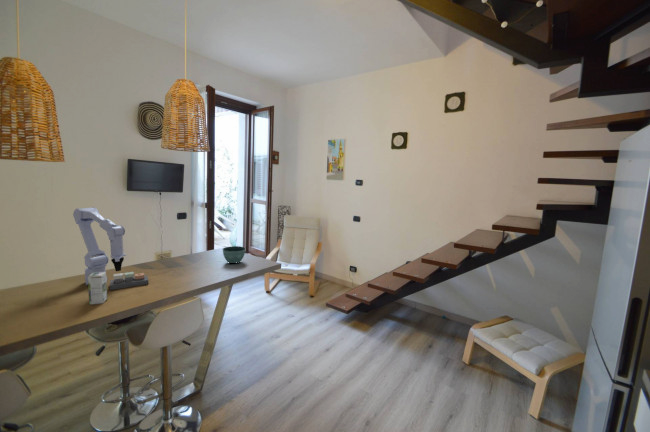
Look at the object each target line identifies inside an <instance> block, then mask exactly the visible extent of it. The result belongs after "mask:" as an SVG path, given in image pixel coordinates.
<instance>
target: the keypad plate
mask: <svg viewBox="0 0 650 432" xmlns="http://www.w3.org/2000/svg"><path fill="white" fill-rule="evenodd" d="M144 285H145V286H146V285H149V277H148V275H147V274H144V279H142V280H136V279H135V276H134V277H133V281H128V282H126V278H125V277H123V282H122V283H115V280H114V279H111V280H109V290H110V291H115V290H120V289H126V288H131V287H137V286H138V287H139V286H144Z"/></svg>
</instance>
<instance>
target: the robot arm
mask: <svg viewBox="0 0 650 432" xmlns="http://www.w3.org/2000/svg"><path fill="white" fill-rule="evenodd" d="M72 217H73V219H74V221H75V224H76V225H78V228H79V231H80V233H81V236H82V239H83V242H84V244H85V246H86V247H85V248H86V249H87V250H86V251H87V253H86V254H85V255H84V257H83V259H84V265H85V266H86V267H87V268H84V281H85V286H88V276H89V275H91V274H92V273H95V272H106V273H107V271H106V266H107V264H108V263H109V262H112V264H113V266H114V269H115V272H120V271H121V270H122V266H123V262H124V258H125V257H126V256H127V253H125V252H124V243H123V242H124V238H123V236H124V235H125V234H126V230H125V227H124V226H123V225H118V224H116V223H115V222H114V221H112V220H111V219H110V218H109V219H108V218H104V216H103V215H101V214H100V212H99V209H97V207H94V206H93V207H92V206H91V207H85V208H83V207H82V208H81V207H80V208H78V207H77V208H75V209H74V210H73V213H72ZM94 222H96V223H98V225H99V227H100V228H101V229H102V230H104V231H105V232H106V234H107V237H108V240H109V244H110V258H111V260H110V259H109V256H108V255H107V253H106V251H104V250H101V249H100V248H99V244H98V241H97V239H96V237H95V234H94V233H95V232H94V231H93V228H92V226H91V224H93V223H94ZM109 260H110V261H109ZM106 282H108V277H106Z"/></svg>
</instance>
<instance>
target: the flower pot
mask: <svg viewBox="0 0 650 432" xmlns="http://www.w3.org/2000/svg"><path fill="white" fill-rule="evenodd" d="M245 252H246V247H244V246H240V245H239V246H237V245H236V246H235V245H234V246H233V245H232V246H231V245H230V246H225V247H223V248H222V254H223V257H224V260H226V263H227V262H229V263H236V262H240V261H241V262H242V260H243V258H244V257H245ZM241 262H240V263H241Z"/></svg>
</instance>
